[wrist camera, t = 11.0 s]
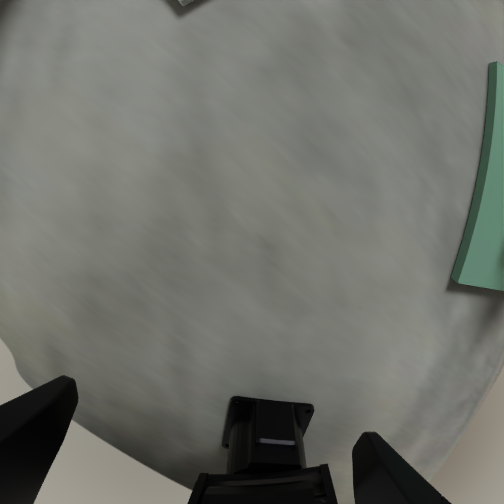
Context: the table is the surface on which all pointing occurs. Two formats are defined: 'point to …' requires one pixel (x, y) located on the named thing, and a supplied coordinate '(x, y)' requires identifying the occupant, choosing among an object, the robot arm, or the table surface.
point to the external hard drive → (185, 2)
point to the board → (487, 200)
